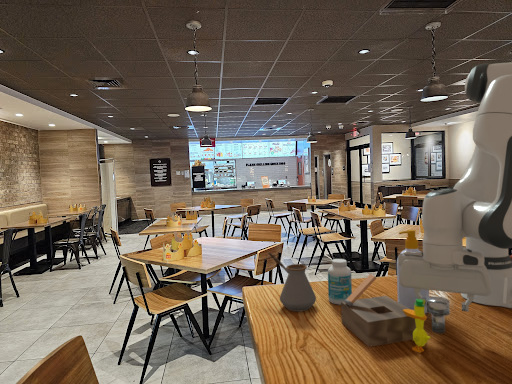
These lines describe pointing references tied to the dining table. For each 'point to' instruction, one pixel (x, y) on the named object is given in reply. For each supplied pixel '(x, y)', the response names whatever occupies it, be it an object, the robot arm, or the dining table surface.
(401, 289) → the soap bottle
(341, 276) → the pill bottle
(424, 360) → the dining table surface
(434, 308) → the steel pin
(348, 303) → the bar
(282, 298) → the coffee pot
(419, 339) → the toy figure
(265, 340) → the dining table surface
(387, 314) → the brown square block
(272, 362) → the dining table surface
